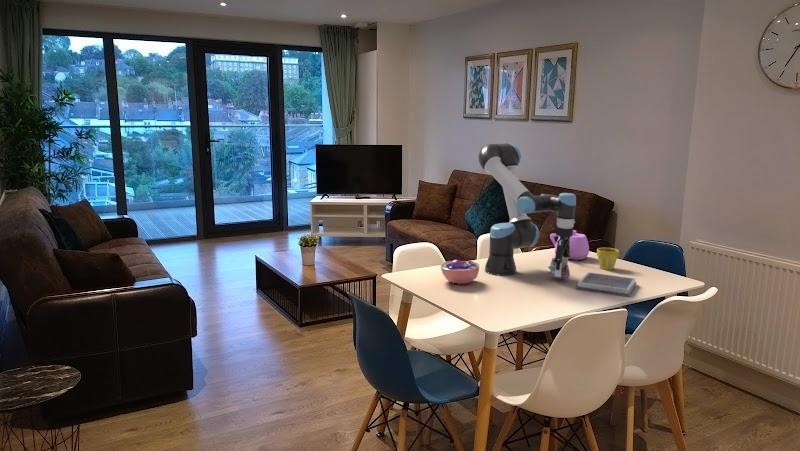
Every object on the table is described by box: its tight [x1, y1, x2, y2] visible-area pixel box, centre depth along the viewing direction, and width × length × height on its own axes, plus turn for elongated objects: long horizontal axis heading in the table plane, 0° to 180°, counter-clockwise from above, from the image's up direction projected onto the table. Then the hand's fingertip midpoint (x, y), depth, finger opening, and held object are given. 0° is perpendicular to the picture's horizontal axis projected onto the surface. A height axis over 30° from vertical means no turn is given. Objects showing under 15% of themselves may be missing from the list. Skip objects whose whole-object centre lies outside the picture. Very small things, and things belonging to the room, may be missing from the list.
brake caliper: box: [548, 257, 571, 280], centre depth 262 cm, size 11×11×12 cm
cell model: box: [439, 259, 480, 285], centre depth 256 cm, size 17×20×11 cm
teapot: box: [549, 229, 590, 261], centre depth 306 cm, size 23×21×15 cm
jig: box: [575, 271, 638, 298], centre depth 253 cm, size 22×22×3 cm
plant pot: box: [596, 247, 620, 271], centre depth 286 cm, size 10×10×10 cm
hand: (560, 273), depth 262 cm, fingers closed on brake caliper, 11 cm apart
